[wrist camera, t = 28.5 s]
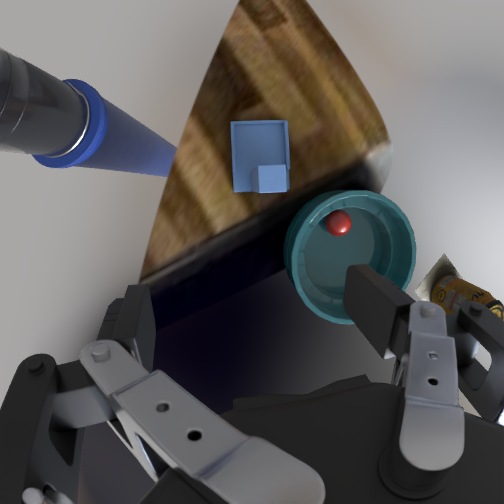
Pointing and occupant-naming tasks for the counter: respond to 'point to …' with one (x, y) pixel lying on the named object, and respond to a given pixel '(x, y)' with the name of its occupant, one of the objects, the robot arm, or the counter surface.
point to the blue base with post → (260, 156)
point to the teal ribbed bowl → (346, 248)
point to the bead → (338, 223)
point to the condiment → (454, 290)
